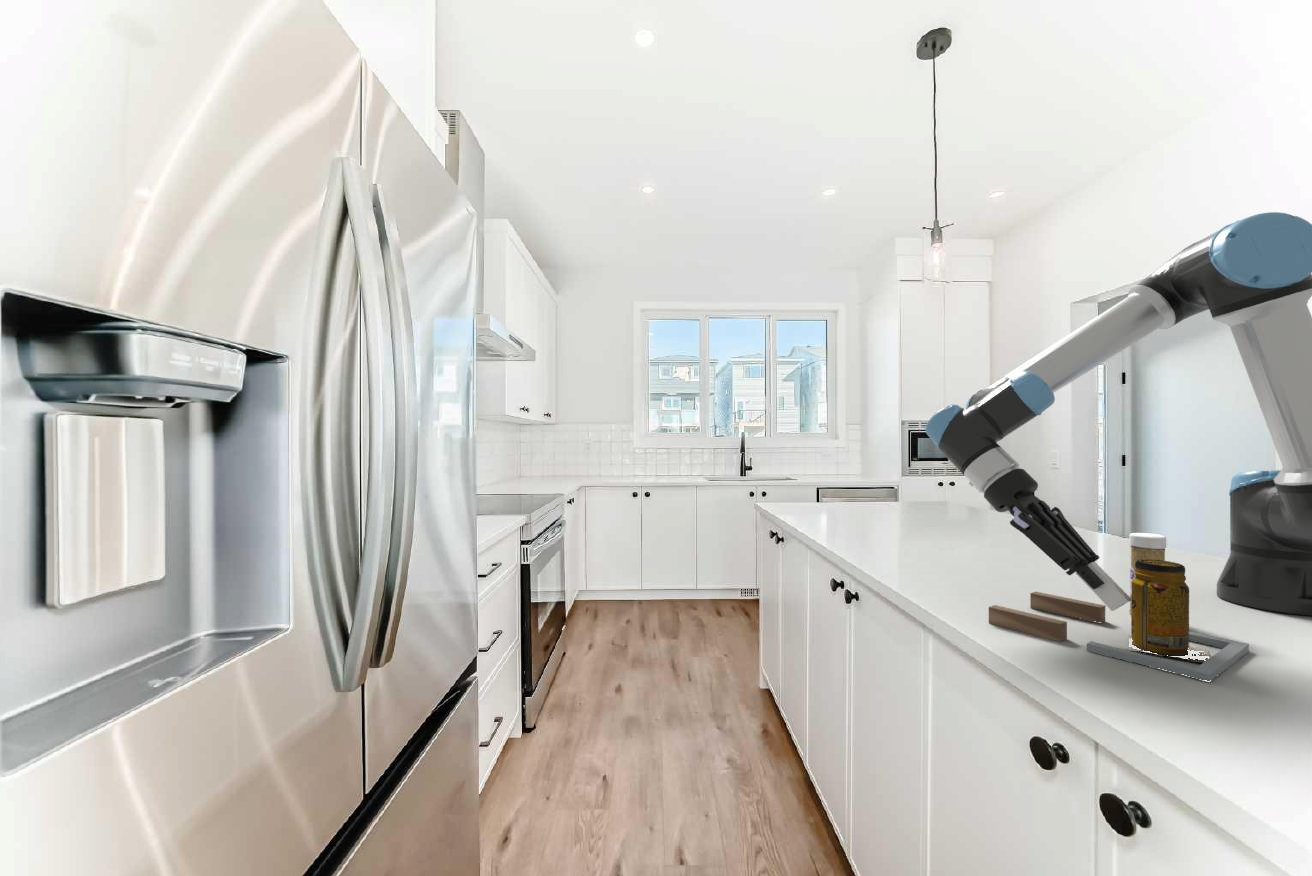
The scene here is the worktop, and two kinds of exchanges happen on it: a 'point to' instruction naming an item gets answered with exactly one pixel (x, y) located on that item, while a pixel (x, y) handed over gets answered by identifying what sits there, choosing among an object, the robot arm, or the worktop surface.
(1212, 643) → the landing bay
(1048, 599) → the wooden blocks
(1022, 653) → the worktop surface
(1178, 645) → the condiment
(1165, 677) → the worktop surface
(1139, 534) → the toothpick container
